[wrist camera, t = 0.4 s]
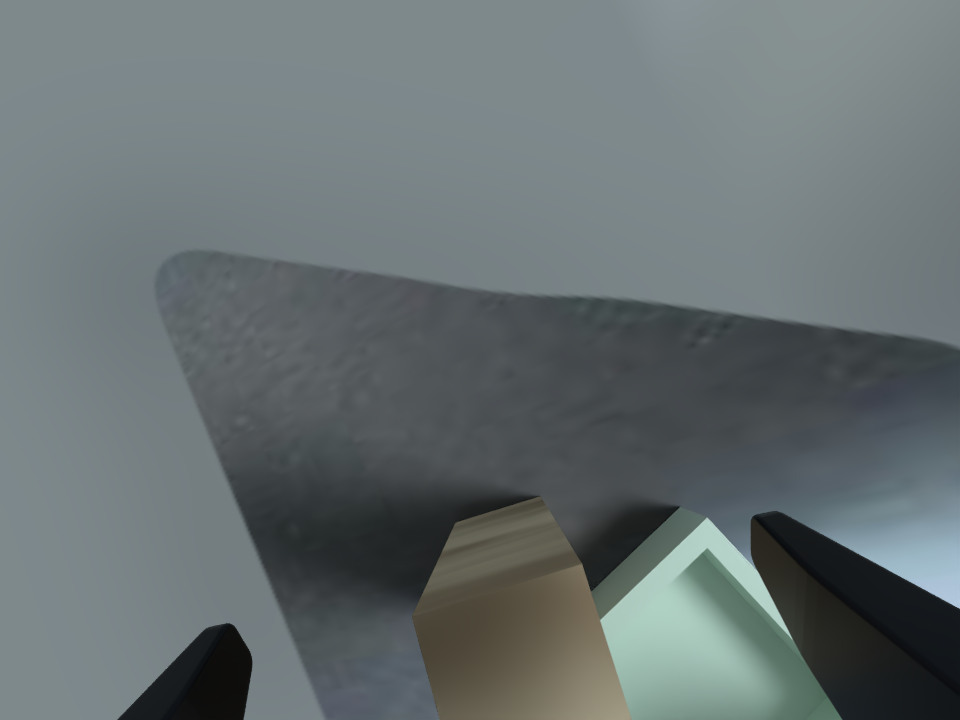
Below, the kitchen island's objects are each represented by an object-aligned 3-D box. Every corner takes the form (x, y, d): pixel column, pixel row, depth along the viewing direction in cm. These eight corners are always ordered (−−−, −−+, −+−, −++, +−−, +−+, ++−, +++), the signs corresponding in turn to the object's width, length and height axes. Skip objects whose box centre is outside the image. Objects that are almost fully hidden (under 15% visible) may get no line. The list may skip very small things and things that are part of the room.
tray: (849, 687, 22) (904, 728, 19) (679, 859, 22) (708, 928, 19) (680, 506, 23) (707, 517, 20) (514, 664, 23) (517, 699, 20)
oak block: (568, 585, 23) (641, 750, 11) (481, 612, 23) (463, 805, 11) (540, 496, 24) (581, 563, 12) (455, 522, 24) (411, 616, 12)
